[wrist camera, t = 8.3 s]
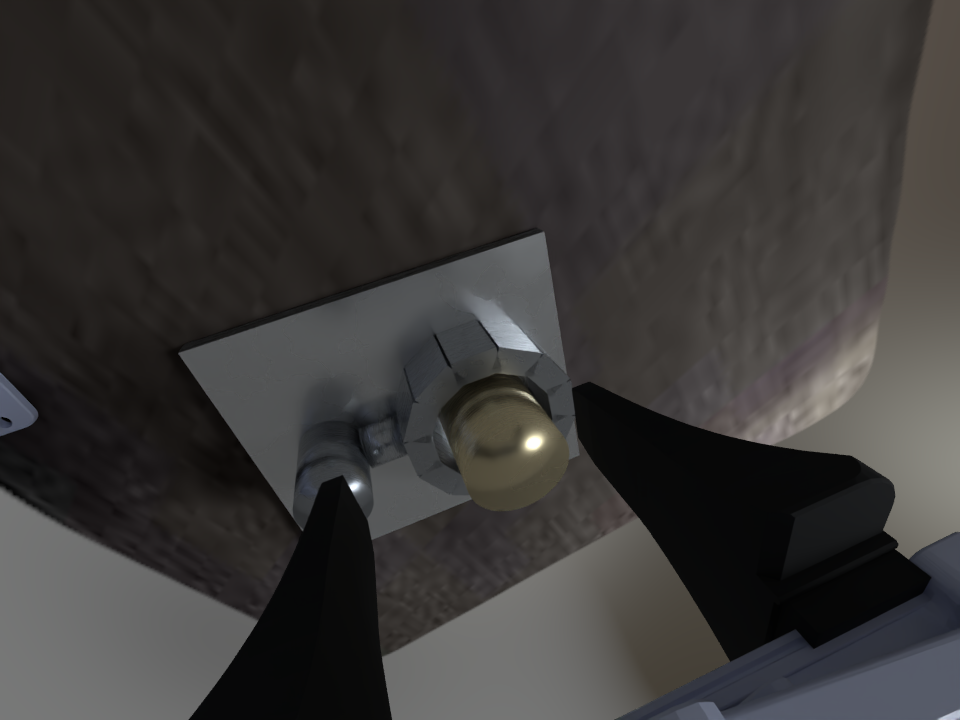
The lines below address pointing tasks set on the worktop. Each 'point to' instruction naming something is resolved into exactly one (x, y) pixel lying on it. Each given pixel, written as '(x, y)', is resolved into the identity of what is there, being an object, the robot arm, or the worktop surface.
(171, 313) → the worktop surface
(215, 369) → the manifold plate
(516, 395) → the brass rounded plug
